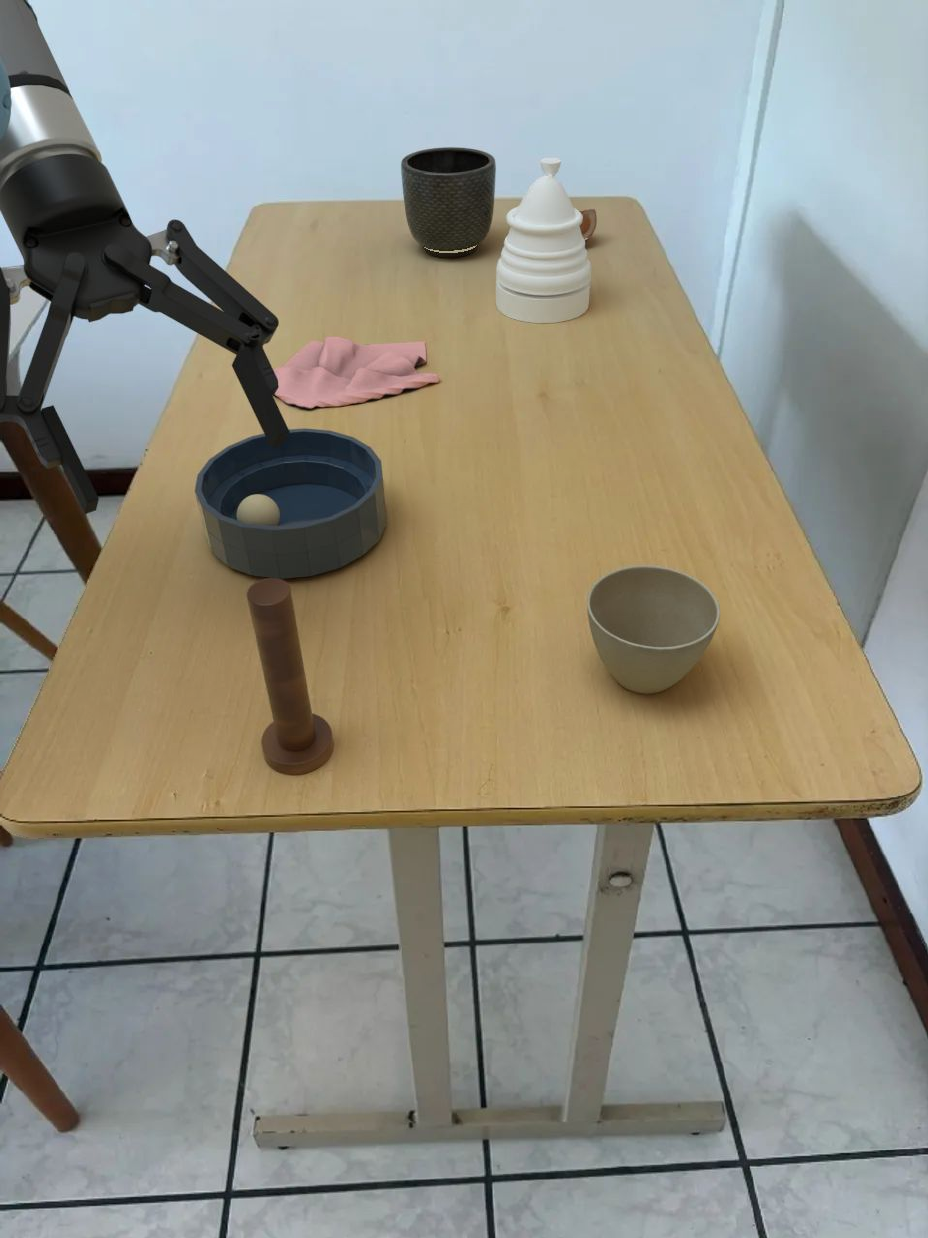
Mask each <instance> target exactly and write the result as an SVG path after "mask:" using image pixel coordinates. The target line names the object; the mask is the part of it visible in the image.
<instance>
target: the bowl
mask: <svg viewBox="0 0 928 1238" xmlns="http://www.w3.org/2000/svg"><path fill="white" fill-rule="evenodd" d="M288 429H289V431H290V432H289V434H288V435H287V437H286V438H285V439H284V441H283V442H282V443H281V445H278V446H276V447H273V448H271V447H270V444H269V442H268V440H267V438H266V436H265V434H264V433H261V434H256V435H251V436H249V437H247V438H243V439H242V440H240V441H237V442H235V443H232V444H230V445H227V446H226V447H225V448H223V449H222V450H220V451H219V452H218V453H216V454H214V455H213V456H212V457H210V458H209V459H208V460H207V461H206V463H205V464H204V465H203V467H202V468H201V469H200V471H199V472H198V473H197V474H196V480H195V486H194V494H195V499H196V502H197V507H198V510H199V515H200V520H201V524H202V528H203V532H204V536H205V540H206V542H207V544H208V546H209V549H210V551H211V554H213V555H214V557H216V558H217V559H218V560H220V561H221V562H222V563H223V564H225V565H226V566H227V567H228V568H230V569H233V570H236V571H239V572H241V573H244V574H246V575H250V576H253V577H262V578H277V579H281V580H284V579H292V578H293V579H294V578H304V577H312V576H316V575H320V574H323V573H328V572H330V571H334V570H338V569H340V568H342V567H344V566H346V565H348V564H350V563H351V562H354V561H355V560H357V559H359V558H361V557H363V556H364V555H365V554H366V553H368V551H369V550H371V548H373V547H374V546H375V545H376V544H377V543H378V542H379V541H380V539H381V537H382V535H383V532H384V530H385V528H386V526H387V524H388V523H387V513H386V512H387V510H386V501H385V489H384V488H385V487H384V477H383V476H384V475H383V466H382V460H381V459H380V457H379V456H378V455H377V453H376V452H375V451H374V449H373V448H372V447H371V446H369V445H368V444H365V443H364V442H362V441H361V440H359V439H358V438H356V437H354V436H351V435H347V434H344V433H341V432H336V431H334V430H328V429H316V428H307V427H304V428H288ZM255 494H261V495H265V496H268V497H269V498H271V499H272V500H273V501H274V502H275V503H276V504H277V506H278V508H279V511H280V521H279V524H278V526H265V525H256V524H246V523H243V522H240V521H237V509H238V507H239V505H240V503H241V502H242V501H243V500H244V499H245V498H246V497H248V496H251V495H255Z"/></svg>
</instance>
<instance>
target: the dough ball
mask: <svg viewBox="0 0 928 1238" xmlns="http://www.w3.org/2000/svg"><path fill="white" fill-rule="evenodd" d="M237 521H240V522H243V523H246V524H256V525H265V526H278V524H279V521H280V511H279V508H278V506H277V504H276V503H275V502H274V501H273V500H272V499H271V498H269V497H268V496H265V495H261V494H255V495H251V496H248V497H246V498H245V499H244V500H243V501H242V502H241V503H240V505H239V507H238V509H237Z"/></svg>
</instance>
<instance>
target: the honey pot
mask: <svg viewBox="0 0 928 1238" xmlns="http://www.w3.org/2000/svg"><path fill="white" fill-rule="evenodd" d="M561 163H562V160H561V159H560V158H557V157H544V158H542V159H540V168H541V171H542V173H543V174H544V175H542V176H540V177H538V178H537V179H536V180H535V181H533V183H532V184H531V185H530V186H529V187H528V189H527V190H526V192H525V194H524V195H523V197H522V199H521V201H520V202H519V205H518V206H516V207H513V208H511V210H509V211H508V212H507V214H506V218H505V221H506V223H507V225H508V226H509V227H510V228H509V230H508V234H507V235H506V237H505V238H504V241H503V245H504V246H503V247H502V249H501V254H500V257H499V258H498V260H497V264H496V267H495V272H496V275H495V278H496V280H495V306H496V309H497V310H498V311H499V312H500V313H501V314H502V315H504V316H506V317H508V318H510V319H512V320H513V319H514V320H516V321H519V322H525V323H530V324H555V323H556V324H557V323H562V322H568V321H570V320H573V319H574V320H575V319H576V318H579V317H580V316H582V315H584V314H586V312H587V310H588V309H589V306H590V292H591V278H592V276H591V275H592V274H591V273H592V264H591V262H590V260H589V259H588V250H587V249H586V242H585V240H584V238H583V237H582V233H581V230H580V226H579V225H580V224H581V223H582V220H583V216H582V214H581V213H580V211H581V210H578V209H577V208H575V207H574V206H573V203H572V200H571V199H570V196H569V195H568V193H567V191H566V189H565V188H564V186H563V185H562V184H561V182H560V181H559V180H558V179H557V178H555V176H556V174H557V173H558V172H559V169H560V167H561Z"/></svg>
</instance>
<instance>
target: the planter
mask: <svg viewBox="0 0 928 1238" xmlns="http://www.w3.org/2000/svg"><path fill="white" fill-rule="evenodd" d="M496 172H497V163H496V159H495V157H494V156H493V155H492V154H490V153H488V152H486V151H484V150H479V149H476V148H475V149H474V148H469V147H458V146H457V147H456V146H455V147H453V146H450V147H446V146H445V147H433V148H426V149H422V150H418V151H415V152H412V153H409V154H407V155H406V156H404V157H403V158H402V160H401V162H400V174H401V185H402V194H403V204H404V212H405V217H406V222H407V223H406V224H407V226H408V229H409V232H410V234H411V236H412V238H413V239H414V240H415V241H416V243H417V244H419V245H420V246H422V248H423V250H424V251H425V252H426V253H427V254H428V255H430V256H432V257H437V258H442V259H443V258H444V259H455V258H462V257H466V256H469V255H471V254H473V253H475V251H476V250H477V248H478V246H479V245H480V244H481V243H482V242H483V241H484V240H485V239H486V238H487V236H488V235H489V233H490V230H491V226H492V222H493V216H494V208H495V194H496V177H497V176H496V174H497V173H496ZM478 244H479V245H478ZM476 245H477V246H476ZM423 246H424V247H426V248H428V249H433V250H439V251H454V250H462V249H467V248H470V247H473V246H476V247H475V248H473V249H471V250H468V251H464V252H458V253H439V252H434V251H430V250H428V249H426V248H424V247H423Z"/></svg>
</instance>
